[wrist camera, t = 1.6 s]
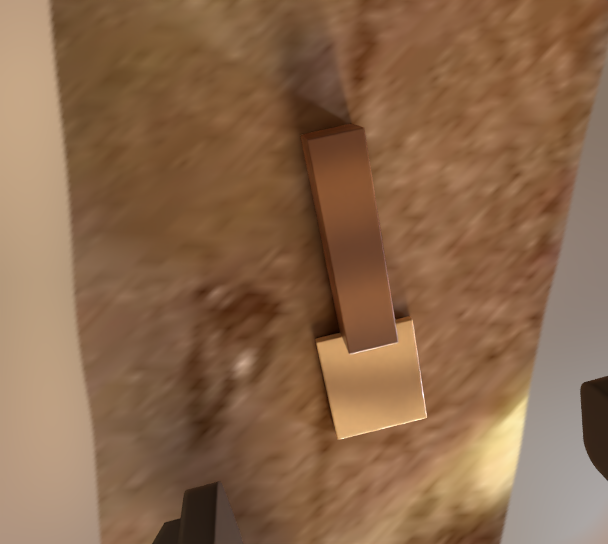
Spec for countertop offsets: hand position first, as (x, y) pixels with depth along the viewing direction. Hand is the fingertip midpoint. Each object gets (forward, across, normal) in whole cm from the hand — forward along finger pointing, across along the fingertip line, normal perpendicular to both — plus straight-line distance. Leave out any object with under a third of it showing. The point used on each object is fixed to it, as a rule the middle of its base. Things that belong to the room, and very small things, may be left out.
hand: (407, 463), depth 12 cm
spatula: (+15, -2, +2) cm, 15 cm away
